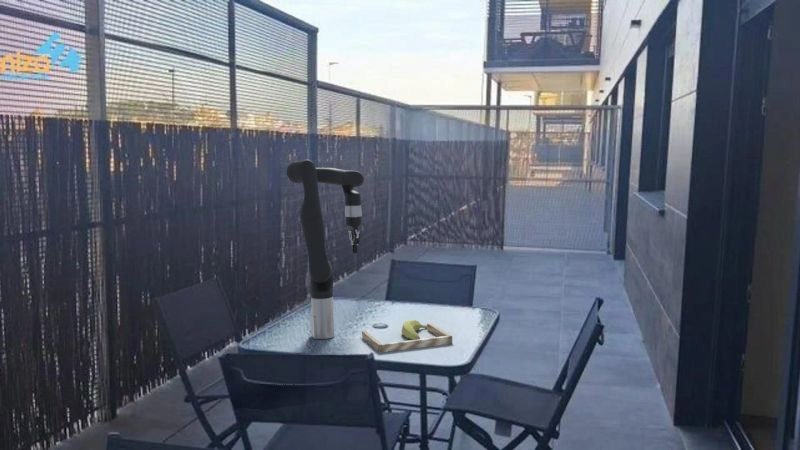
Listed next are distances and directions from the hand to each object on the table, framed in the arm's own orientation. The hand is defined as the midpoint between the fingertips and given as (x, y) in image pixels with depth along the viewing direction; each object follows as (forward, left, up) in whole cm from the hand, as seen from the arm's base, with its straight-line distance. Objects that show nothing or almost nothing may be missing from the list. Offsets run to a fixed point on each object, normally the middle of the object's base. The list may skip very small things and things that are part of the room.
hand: (354, 253), depth 315 cm
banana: (+18, -30, -32) cm, 48 cm away
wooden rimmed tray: (+10, -38, -32) cm, 51 cm away
